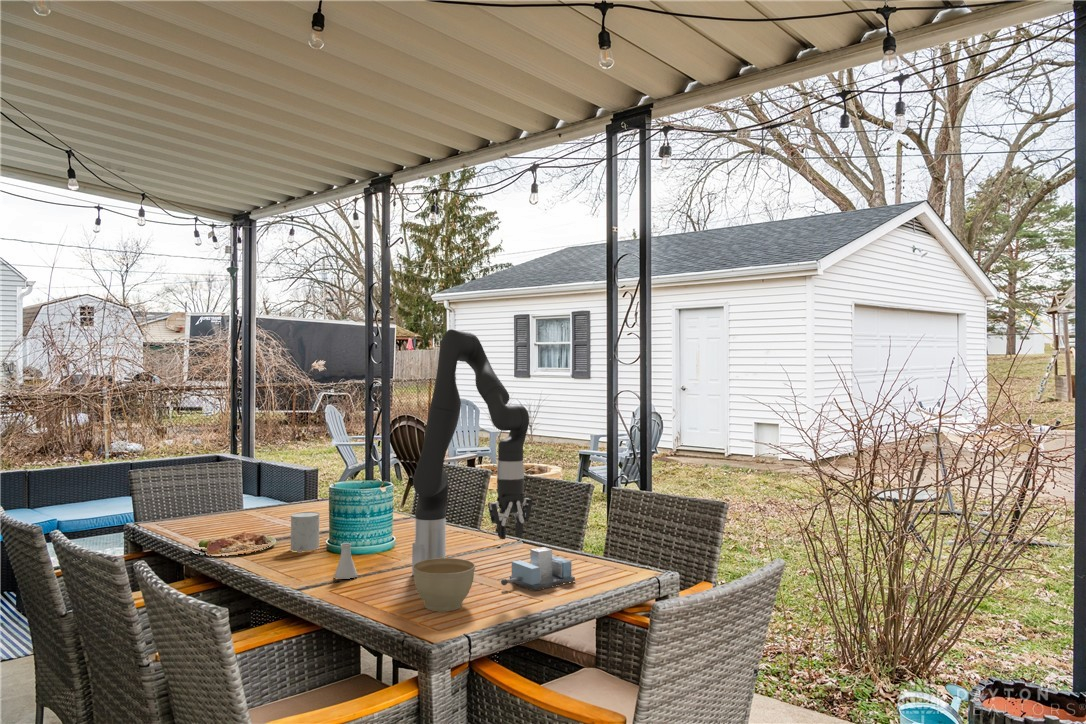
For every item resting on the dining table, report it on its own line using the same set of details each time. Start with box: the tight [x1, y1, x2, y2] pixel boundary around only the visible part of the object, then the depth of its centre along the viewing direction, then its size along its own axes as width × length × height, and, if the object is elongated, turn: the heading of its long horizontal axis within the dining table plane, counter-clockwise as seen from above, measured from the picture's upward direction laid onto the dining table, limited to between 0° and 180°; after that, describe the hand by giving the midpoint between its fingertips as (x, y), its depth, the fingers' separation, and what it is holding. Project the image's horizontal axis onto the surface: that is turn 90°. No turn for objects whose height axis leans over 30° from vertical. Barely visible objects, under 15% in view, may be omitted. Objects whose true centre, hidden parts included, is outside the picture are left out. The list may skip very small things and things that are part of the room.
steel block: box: [529, 546, 553, 579], centre depth 212 cm, size 5×4×8 cm
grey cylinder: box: [290, 511, 320, 552], centre depth 251 cm, size 10×10×12 cm
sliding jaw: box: [500, 559, 541, 586], centre depth 206 cm, size 10×10×5 cm
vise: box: [509, 554, 576, 592], centre depth 212 cm, size 15×12×6 cm
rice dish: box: [190, 531, 277, 554], centre depth 253 cm, size 28×28×5 cm
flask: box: [333, 542, 358, 580], centre depth 216 cm, size 7×7×10 cm
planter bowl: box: [413, 557, 476, 613], centre depth 189 cm, size 16×16×11 cm
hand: (510, 537), depth 202 cm, fingers open, 5 cm apart
